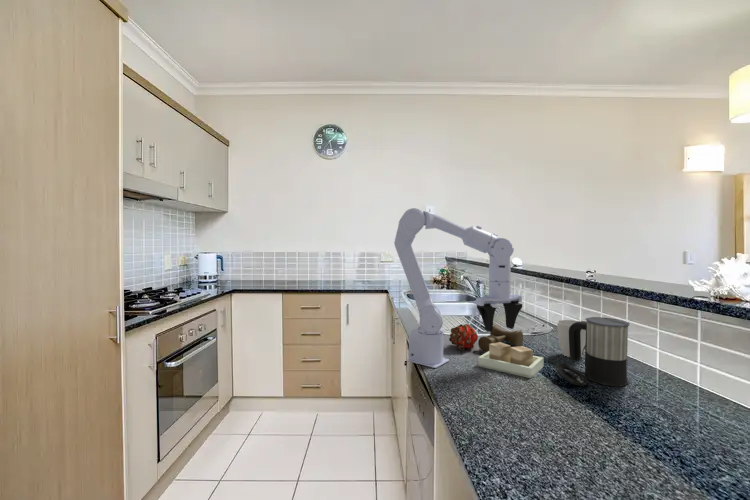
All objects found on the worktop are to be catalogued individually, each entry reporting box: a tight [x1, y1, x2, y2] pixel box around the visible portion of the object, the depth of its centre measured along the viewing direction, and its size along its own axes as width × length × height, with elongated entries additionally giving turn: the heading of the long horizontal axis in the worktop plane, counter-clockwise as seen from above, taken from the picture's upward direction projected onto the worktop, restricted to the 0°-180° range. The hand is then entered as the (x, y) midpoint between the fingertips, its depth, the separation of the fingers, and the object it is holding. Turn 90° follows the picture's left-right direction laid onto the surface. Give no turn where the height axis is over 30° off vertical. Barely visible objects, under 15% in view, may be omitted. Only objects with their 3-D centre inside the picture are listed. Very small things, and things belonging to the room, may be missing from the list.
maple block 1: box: [489, 342, 512, 363], centre depth 99 cm, size 4×4×5 cm
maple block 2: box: [510, 345, 534, 367], centre depth 95 cm, size 4×4×5 cm
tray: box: [477, 351, 545, 379], centre depth 98 cm, size 14×11×2 cm
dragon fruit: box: [448, 323, 479, 351], centre depth 115 cm, size 8×8×12 cm
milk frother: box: [555, 316, 630, 387], centre depth 87 cm, size 14×16×15 cm
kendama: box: [477, 324, 524, 353], centre depth 117 cm, size 6×10×20 cm
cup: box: [556, 319, 586, 358], centre depth 107 cm, size 8×8×10 cm
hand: (499, 329), depth 99 cm, fingers open, 7 cm apart
